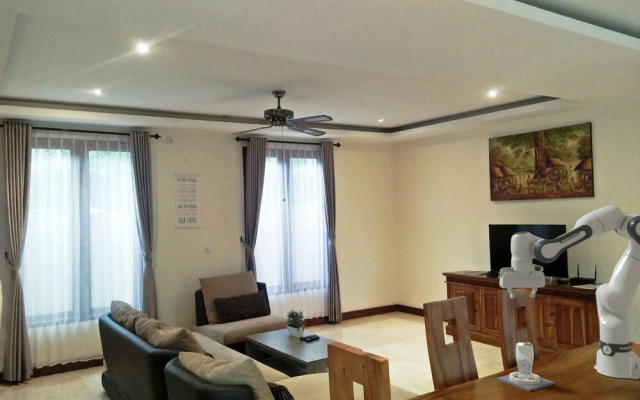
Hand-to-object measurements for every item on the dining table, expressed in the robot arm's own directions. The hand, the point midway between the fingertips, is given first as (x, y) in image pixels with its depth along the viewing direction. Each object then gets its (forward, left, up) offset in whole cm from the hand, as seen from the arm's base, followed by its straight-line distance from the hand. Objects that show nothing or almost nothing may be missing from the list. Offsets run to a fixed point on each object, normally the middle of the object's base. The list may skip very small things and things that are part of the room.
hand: (522, 297), depth 225 cm
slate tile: (+13, +10, -33) cm, 37 cm away
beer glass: (+13, +10, -32) cm, 36 cm away
